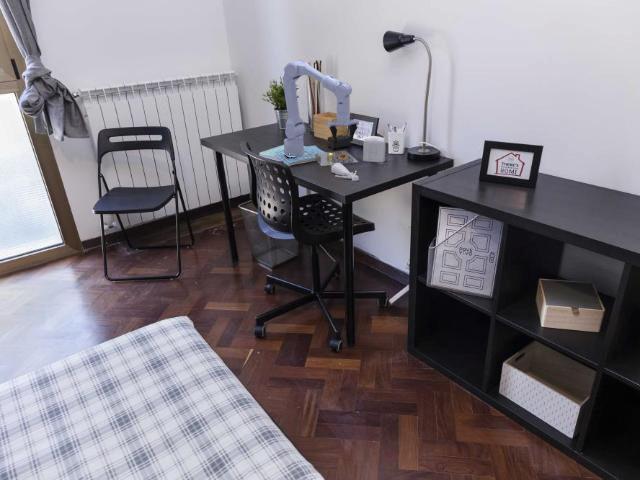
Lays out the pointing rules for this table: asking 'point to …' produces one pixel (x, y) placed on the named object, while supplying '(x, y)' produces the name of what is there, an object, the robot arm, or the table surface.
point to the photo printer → (374, 149)
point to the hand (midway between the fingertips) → (343, 141)
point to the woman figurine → (343, 172)
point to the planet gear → (342, 156)
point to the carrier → (332, 158)
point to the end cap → (339, 142)
